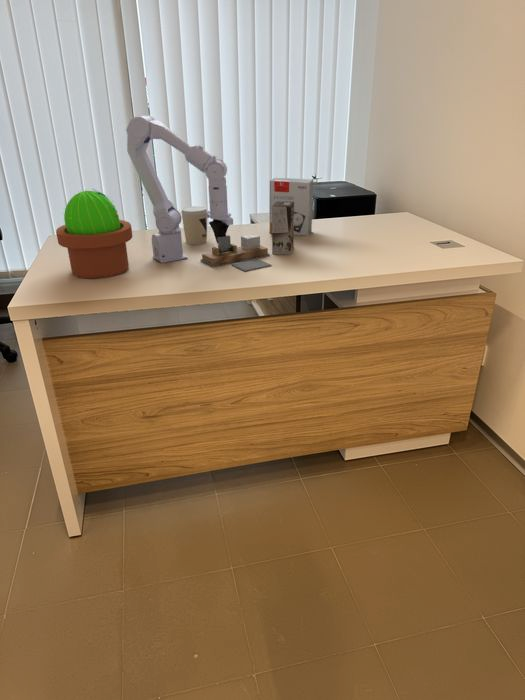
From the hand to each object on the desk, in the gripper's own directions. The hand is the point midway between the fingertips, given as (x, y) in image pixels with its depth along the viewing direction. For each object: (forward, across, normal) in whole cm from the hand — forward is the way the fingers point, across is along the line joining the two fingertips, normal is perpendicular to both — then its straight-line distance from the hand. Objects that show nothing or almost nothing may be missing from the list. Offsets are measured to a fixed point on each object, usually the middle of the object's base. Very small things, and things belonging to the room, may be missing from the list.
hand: (220, 243), depth 171 cm
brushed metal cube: (+3, -3, -10) cm, 11 cm away
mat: (+5, -13, -4) cm, 14 cm away
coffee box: (+6, -5, -22) cm, 23 cm away
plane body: (+5, -3, -4) cm, 7 cm away
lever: (+2, -3, 0) cm, 3 cm away
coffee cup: (+5, +24, -3) cm, 25 cm away
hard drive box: (+6, +14, -39) cm, 42 cm away
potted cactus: (+5, +12, +37) cm, 39 cm away
